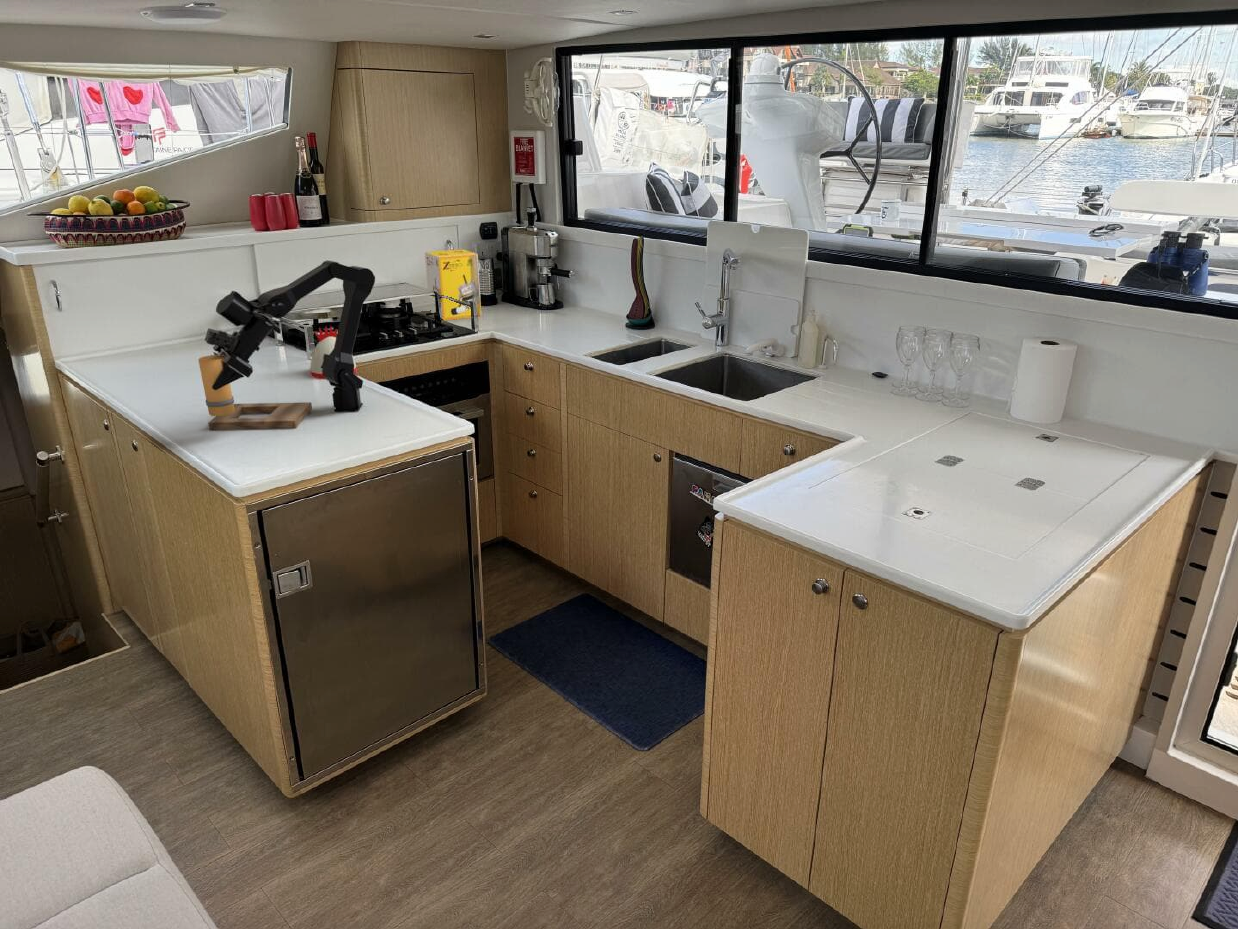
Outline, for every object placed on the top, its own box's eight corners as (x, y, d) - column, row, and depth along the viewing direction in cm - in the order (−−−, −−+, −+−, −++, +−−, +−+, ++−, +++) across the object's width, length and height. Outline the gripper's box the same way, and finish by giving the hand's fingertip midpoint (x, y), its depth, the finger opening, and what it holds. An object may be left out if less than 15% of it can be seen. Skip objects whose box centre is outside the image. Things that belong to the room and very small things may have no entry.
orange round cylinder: (239, 407, 223) (229, 354, 217) (230, 415, 217) (220, 361, 211) (213, 408, 222) (203, 355, 217) (204, 416, 216) (193, 361, 211)
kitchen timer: (307, 370, 280) (301, 324, 274) (351, 365, 286) (346, 320, 280) (315, 381, 268) (308, 333, 263) (360, 375, 274) (355, 328, 269)
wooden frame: (312, 409, 242) (311, 402, 241) (295, 428, 227) (294, 420, 227) (231, 410, 241) (230, 403, 240) (209, 429, 226) (208, 422, 225)
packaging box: (481, 316, 356) (477, 253, 347) (443, 320, 348) (438, 257, 339) (467, 309, 369) (463, 249, 360) (429, 313, 361) (424, 251, 352)
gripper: (215, 309, 220) (175, 358, 218) (230, 323, 205) (188, 375, 204) (253, 336, 227) (215, 384, 225) (270, 351, 212) (229, 402, 211)
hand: (211, 386), depth 216 cm, fingers closed on orange round cylinder, 6 cm apart
